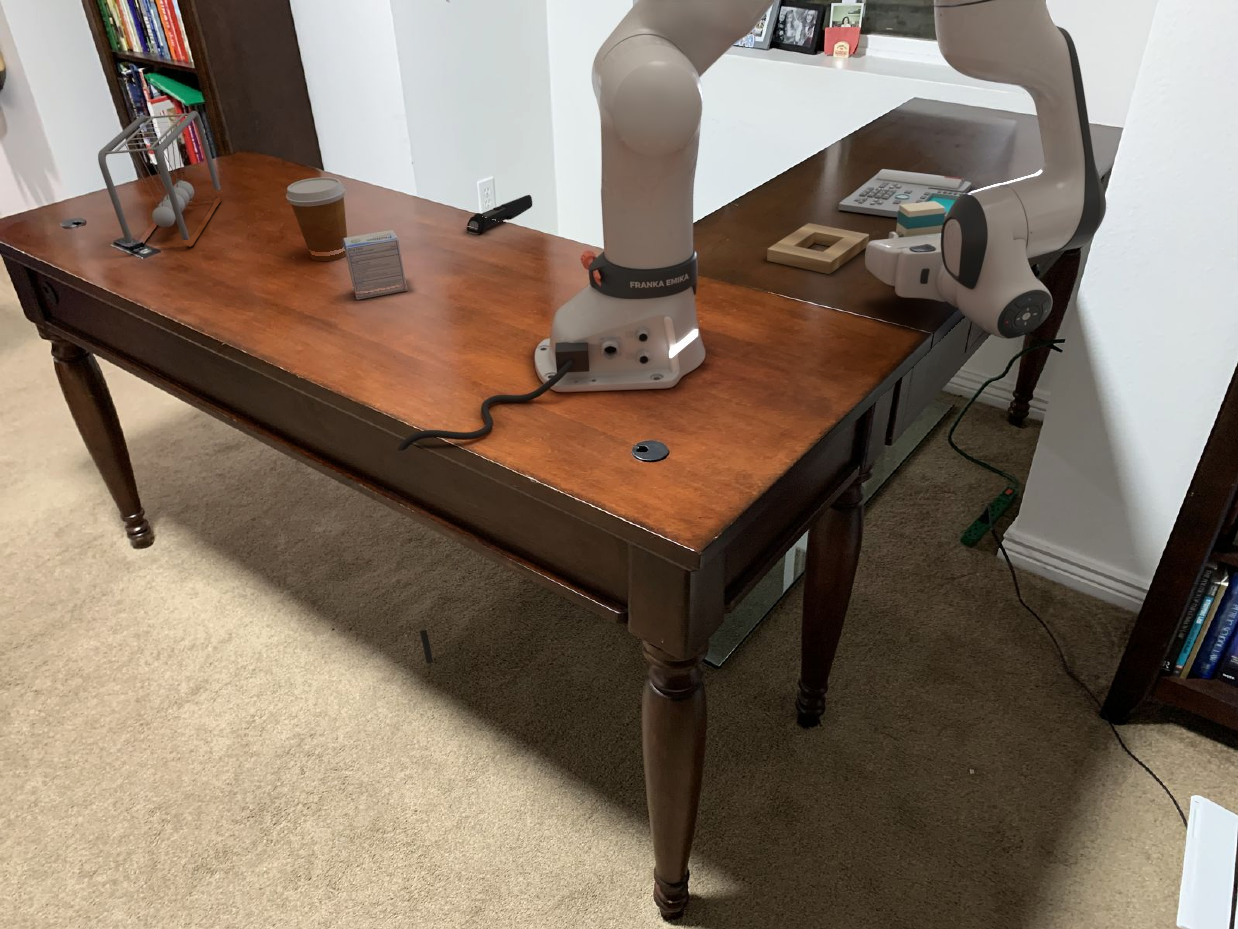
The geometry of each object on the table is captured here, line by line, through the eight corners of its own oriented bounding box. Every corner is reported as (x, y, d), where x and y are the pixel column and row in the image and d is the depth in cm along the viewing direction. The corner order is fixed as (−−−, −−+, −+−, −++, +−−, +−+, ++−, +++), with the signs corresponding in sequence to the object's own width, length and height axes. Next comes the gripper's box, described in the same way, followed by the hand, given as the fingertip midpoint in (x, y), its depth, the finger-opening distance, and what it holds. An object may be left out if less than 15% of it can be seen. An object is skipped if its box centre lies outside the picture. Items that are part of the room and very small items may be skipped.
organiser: (829, 274, 142) (830, 262, 141) (766, 260, 148) (767, 248, 147) (868, 246, 151) (869, 234, 150) (807, 234, 157) (808, 222, 156)
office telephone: (881, 163, 181) (986, 175, 171) (879, 176, 182) (984, 189, 173) (839, 196, 164) (953, 211, 155) (837, 210, 166) (950, 226, 157)
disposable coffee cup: (296, 251, 160) (279, 182, 154) (350, 240, 164) (336, 172, 157) (307, 269, 153) (290, 197, 146) (364, 257, 157) (349, 187, 150)
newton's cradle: (170, 203, 187) (142, 112, 177) (224, 199, 188) (198, 107, 178) (130, 256, 162) (94, 153, 152) (192, 250, 163) (160, 148, 153)
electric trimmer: (538, 212, 173) (537, 195, 171) (480, 235, 163) (478, 218, 161) (523, 208, 175) (522, 192, 173) (465, 232, 165) (463, 214, 163)
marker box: (900, 278, 136) (908, 211, 130) (890, 270, 138) (898, 204, 133) (935, 274, 136) (945, 207, 131) (925, 266, 139) (935, 200, 134)
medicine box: (403, 281, 147) (393, 228, 142) (408, 291, 143) (398, 237, 139) (353, 290, 145) (341, 237, 140) (357, 301, 141) (345, 246, 136)
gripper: (1037, 237, 123) (984, 206, 135) (893, 253, 121) (852, 220, 132) (1027, 282, 127) (976, 247, 138) (888, 298, 124) (847, 262, 135)
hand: (914, 234), depth 135 cm, fingers closed on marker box, 5 cm apart
